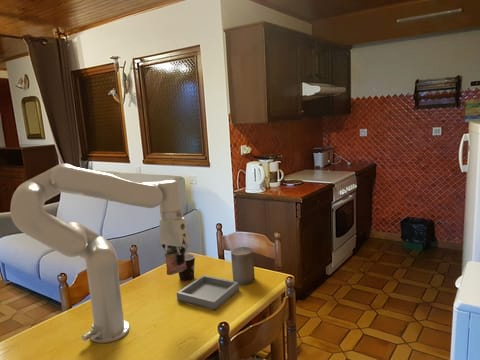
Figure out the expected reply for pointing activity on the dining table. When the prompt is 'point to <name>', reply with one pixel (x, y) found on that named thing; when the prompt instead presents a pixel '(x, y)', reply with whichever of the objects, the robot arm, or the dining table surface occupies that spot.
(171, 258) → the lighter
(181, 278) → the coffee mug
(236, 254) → the pillar candle
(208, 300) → the tray
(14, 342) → the dining table surface
